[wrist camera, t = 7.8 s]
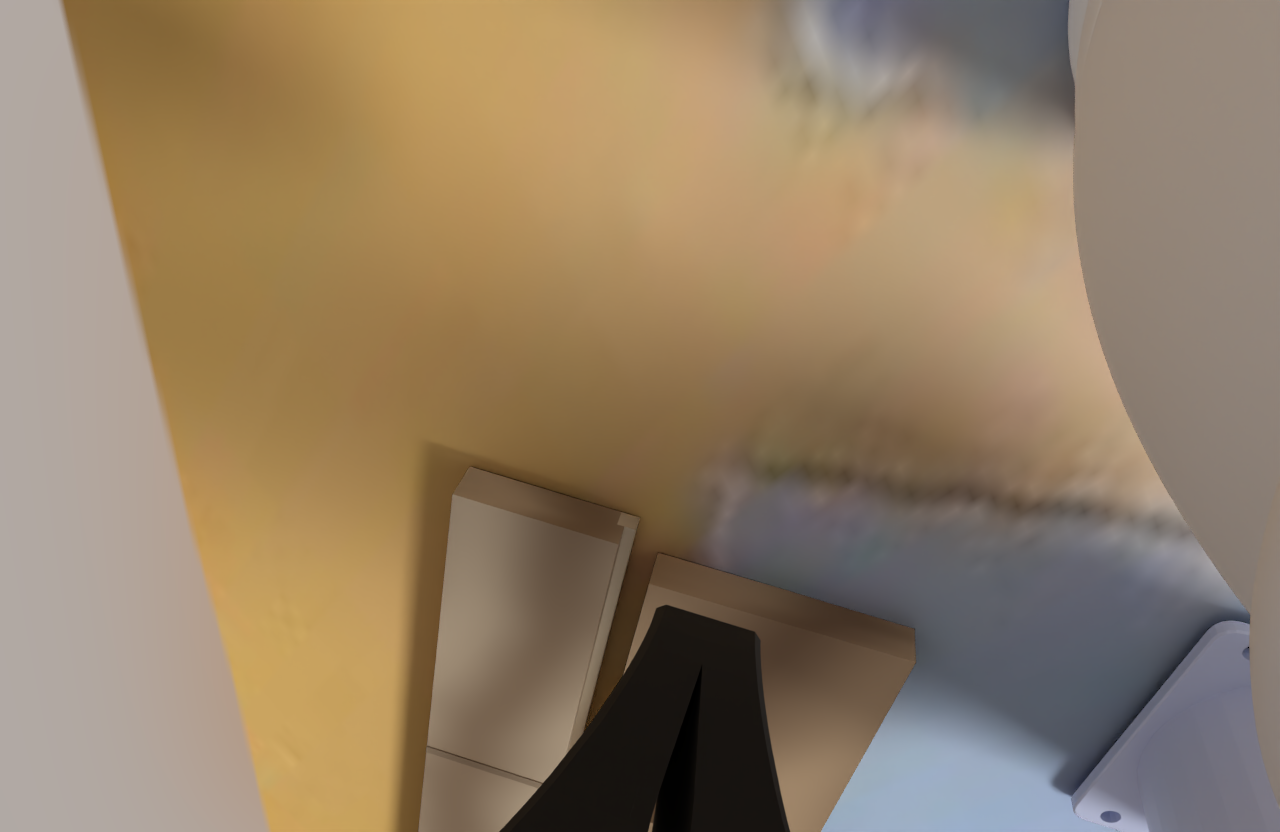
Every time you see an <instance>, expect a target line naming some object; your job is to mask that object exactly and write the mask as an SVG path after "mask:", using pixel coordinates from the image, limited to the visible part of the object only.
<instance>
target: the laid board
mask: <svg viewBox="0 0 1280 832" xmlns="http://www.w3.org/2000/svg"><path fill="white" fill-rule="evenodd" d="M639 519H640V518H639V517H636V516H633V515H629V514H626V513H623V512H619V511H616V510H613V509H609V508H606V507H603V506H599V505H596V504H593V503H589V502H586V501H583V500H579V499H576V498H573V497H570V496H566V495H563V494H560V493H556V492H553V491H550V490H546V489H543V488H540V487H536V486H533V485H530V484H526V483H523V482H520V481H516V480H513V479H510V478H506V477H503V476H500V475H496V474H493V473H490V472H486V471H483V470H480V469H476V468H473V467H469V468H468V470H467V472H466V473H465V475H464V476H463V478H462V480H461V481H460V483H459V485H458V486H457V488H456V489H455V491H454V493H453V494H452V504H451V514H450V524H449V534H448V544H447V553H446V563H445V573H444V583H443V593H442V603H441V613H440V622H439V632H438V642H437V652H436V662H435V672H434V681H433V691H432V701H431V711H430V721H429V731H428V741H427V747H426V760H425V770H424V780H423V790H422V800H421V809H420V819H419V829H418V832H499V831H500V830H501V829H502V828H503V827H504V826H505V825H506V824H507V823H508V822H509V821H510V820H511V818H512V817H513V816H514V815H515V814H516V813H517V812H518V811H519V810H520V809H521V808H522V807H523V805H524V804H525V803H526V802H527V801H528V800H529V799H530V798H531V796H532V795H533V794H534V793H535V792H536V791H537V789H538V788H539V787H540V786H541V785H542V784H543V783H544V781H545V780H546V779H547V778H548V777H549V775H550V774H551V773H552V772H553V771H554V769H555V768H556V767H557V766H558V764H559V763H560V762H561V760H562V759H563V758H564V757H565V755H566V754H567V753H568V752H569V750H570V749H571V748H572V747H573V745H574V744H575V743H576V742H577V740H578V739H579V738H580V736H581V735H582V734H583V733H584V729H585V726H586V722H587V718H588V714H589V710H590V707H591V703H592V699H593V695H594V691H595V687H596V684H597V680H598V676H599V672H600V668H601V665H602V661H603V657H604V653H605V649H606V645H607V642H608V638H609V634H610V630H611V626H612V623H613V619H614V615H615V611H616V607H617V603H618V600H619V596H620V592H621V588H622V584H623V581H624V577H625V573H626V569H627V565H628V561H629V558H630V554H631V550H632V546H633V542H634V539H635V535H636V531H637V527H638V523H639Z"/></svg>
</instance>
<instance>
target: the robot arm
mask: <svg viewBox="0 0 1280 832" xmlns="http://www.w3.org/2000/svg"><path fill="white" fill-rule="evenodd" d="M1249 633H1250V624H1247V623H1244V622H1239V621H1232V620H1231V621H1222V622H1220V623H1217V624H1215V625H1213V626H1212V627H1211V628H1210V629H1208V630H1207V632H1206V633H1205V634H1204V635H1203V637H1202V638H1201V639H1200V640H1199V641H1198V643H1197V644H1196V645H1195V646H1194V648H1193V649H1192V650H1191V651H1190V652H1189V654H1188V655H1187V656H1186V657H1185V659H1184V660H1183V661H1182V662H1181V663H1180V665H1179V666H1178V667H1177V668H1176V670H1175V671H1174V672H1173V673H1172V674H1171V676H1170V677H1169V678H1168V679H1167V681H1166V682H1165V683H1164V684H1163V685H1162V687H1161V688H1160V689H1159V690H1158V691H1157V693H1156V694H1155V695H1154V696H1153V698H1152V699H1151V700H1150V701H1149V702H1148V704H1147V705H1146V706H1145V707H1144V709H1143V710H1142V711H1141V712H1140V713H1139V715H1138V716H1137V717H1136V718H1135V720H1134V721H1133V722H1132V723H1131V724H1130V726H1129V727H1128V728H1127V729H1126V731H1125V732H1124V733H1123V734H1122V735H1121V737H1120V738H1119V739H1118V740H1117V742H1116V743H1115V744H1114V745H1113V746H1112V748H1111V749H1110V750H1109V751H1108V753H1107V754H1106V755H1105V756H1104V757H1103V759H1102V760H1101V761H1100V762H1099V764H1098V765H1097V766H1096V767H1095V768H1094V770H1093V771H1092V772H1091V773H1090V775H1089V776H1088V777H1087V778H1086V779H1085V781H1084V782H1083V783H1082V784H1081V785H1080V787H1079V788H1078V789H1077V790H1076V792H1075V793H1074V794H1073V796H1072V798H1071V801H1072V806H1073V811H1074V813H1075V814H1076V815H1077V816H1078V817H1080V818H1082V819H1084V820H1086V821H1090V822H1093V823H1096V824H1099V825H1102V826H1106V827H1109V828H1112V829H1115V830H1118V831H1122V832H1280V809H1279V806H1278V804H1277V801H1276V798H1275V796H1274V793H1273V790H1272V788H1271V785H1270V782H1269V779H1268V776H1267V772H1266V769H1265V766H1264V762H1263V758H1262V754H1261V750H1260V745H1259V741H1258V736H1257V730H1256V724H1255V717H1254V709H1253V700H1252V690H1251V677H1250V652H1249V649H1248V648H1247V647H1248V646H1249ZM655 804H656V807H655ZM654 808H655V814H654V820H653V827H652V832H790V829H789V825H788V821H787V817H786V813H785V809H784V804H783V800H782V796H781V791H780V786H779V781H778V776H777V771H776V766H775V761H774V756H773V751H772V746H771V740H770V734H769V728H768V721H767V714H766V707H765V700H764V691H763V682H762V670H761V640H760V639H759V637H758V635H757V634H756V632H754V631H751V630H748V629H745V628H741V627H738V626H735V625H732V624H728V623H725V622H722V621H719V620H715V619H712V618H709V617H706V616H702V615H699V614H696V613H692V612H689V611H686V610H683V609H679V608H676V607H673V606H670V605H663V606H660V607H657V608H656V610H655V613H654V616H653V619H652V622H651V624H650V627H649V629H648V631H647V633H646V635H645V637H644V639H643V641H642V643H641V645H640V647H639V649H638V651H637V653H636V654H635V656H634V658H633V660H632V661H631V663H630V665H629V666H628V668H627V670H626V671H625V673H624V675H623V676H622V678H621V680H620V681H619V683H618V684H617V686H616V687H615V689H614V690H613V691H612V693H611V694H610V696H609V697H608V699H607V700H606V702H605V703H604V705H603V706H602V707H601V709H600V710H599V712H598V713H597V715H596V716H595V718H594V719H593V721H592V722H591V723H590V725H589V726H588V727H587V729H586V730H585V731H584V733H583V734H582V735H581V736H580V738H579V739H578V740H577V742H576V743H575V744H574V745H573V747H572V748H571V749H570V750H569V752H568V753H567V754H566V755H565V757H564V758H563V759H562V760H561V762H560V763H559V764H558V766H557V767H556V768H555V769H554V771H553V772H552V773H551V774H550V775H549V777H548V778H547V779H546V780H545V781H544V783H543V784H542V785H541V786H540V787H539V788H538V789H537V791H536V792H535V793H534V794H533V795H532V796H531V798H530V799H529V800H528V801H527V802H526V803H525V804H524V805H523V807H522V808H521V809H520V810H519V811H518V812H517V813H516V814H515V815H514V816H513V817H512V818H511V820H510V821H509V822H508V823H507V824H506V825H505V826H504V827H503V828H502V829H501V830H500V831H499V832H648V830H649V826H650V822H651V818H652V815H653V811H654Z"/></svg>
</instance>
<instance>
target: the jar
mask: <svg viewBox="0 0 1280 832" xmlns="http://www.w3.org/2000/svg"><path fill="white" fill-rule="evenodd" d="M1068 44H1069V55H1070V63H1071V69H1072V74H1073V79H1074V83H1075V137H1074V155H1073V194H1074V212H1075V224H1076V233H1077V241H1078V249H1079V255H1080V261H1081V267H1082V273H1083V278H1084V283H1085V288H1086V292H1087V297H1088V301H1089V305H1090V309H1091V313H1092V316H1093V320H1094V324H1095V327H1096V331H1097V334H1098V337H1099V340H1100V344H1101V347H1102V350H1103V353H1104V356H1105V359H1106V361H1107V364H1108V367H1109V370H1110V372H1111V375H1112V378H1113V380H1114V383H1115V385H1116V388H1117V390H1118V393H1119V395H1120V398H1121V400H1122V402H1123V405H1124V407H1125V409H1126V412H1127V414H1128V416H1129V418H1130V420H1131V423H1132V425H1133V427H1134V429H1135V431H1136V433H1137V435H1138V437H1139V439H1140V441H1141V443H1142V445H1143V447H1144V449H1145V451H1146V453H1147V455H1148V457H1149V459H1150V461H1151V463H1152V464H1153V466H1154V468H1155V470H1156V472H1157V474H1158V475H1159V477H1160V479H1161V481H1162V483H1163V484H1164V486H1165V488H1166V489H1167V491H1168V493H1169V495H1170V496H1171V498H1172V500H1173V501H1174V503H1175V505H1176V506H1177V508H1178V510H1179V511H1180V513H1181V515H1182V516H1183V518H1184V520H1185V521H1186V523H1187V524H1188V526H1189V528H1190V529H1191V531H1192V532H1193V534H1194V535H1195V537H1196V538H1197V540H1198V542H1199V543H1200V545H1201V546H1202V548H1203V549H1204V551H1205V552H1206V554H1207V555H1208V557H1209V558H1210V560H1211V561H1212V563H1213V564H1214V565H1215V567H1216V568H1217V570H1218V571H1219V573H1220V574H1221V576H1222V577H1223V578H1224V580H1225V581H1226V583H1227V584H1228V585H1229V587H1230V588H1231V590H1232V591H1233V592H1234V594H1235V595H1236V596H1237V598H1238V599H1239V600H1240V602H1241V603H1242V604H1243V606H1244V607H1245V608H1246V610H1247V611H1248V612H1249V614H1250V633H1249V652H1250V677H1251V690H1252V700H1253V709H1254V717H1255V724H1256V730H1257V736H1258V741H1259V745H1260V750H1261V754H1262V758H1263V762H1264V766H1265V769H1266V772H1267V776H1268V779H1269V782H1270V785H1271V788H1272V790H1273V793H1274V796H1275V798H1276V801H1277V804H1278V806H1279V809H1280V0H1069V11H1068Z"/></svg>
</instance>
